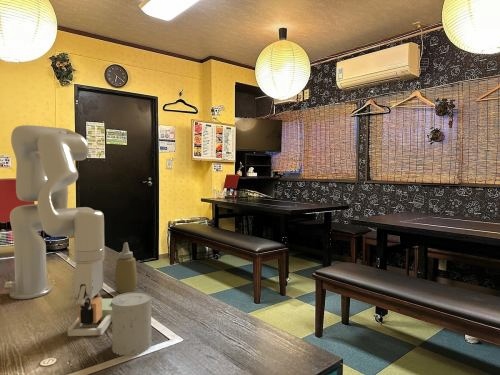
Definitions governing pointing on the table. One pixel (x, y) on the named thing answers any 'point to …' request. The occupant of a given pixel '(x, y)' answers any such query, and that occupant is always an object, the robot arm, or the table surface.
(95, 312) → the matte orange cube
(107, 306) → the green plate with dome
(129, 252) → the squeeze bottle
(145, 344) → the speckled stone cylinder
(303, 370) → the table surface
